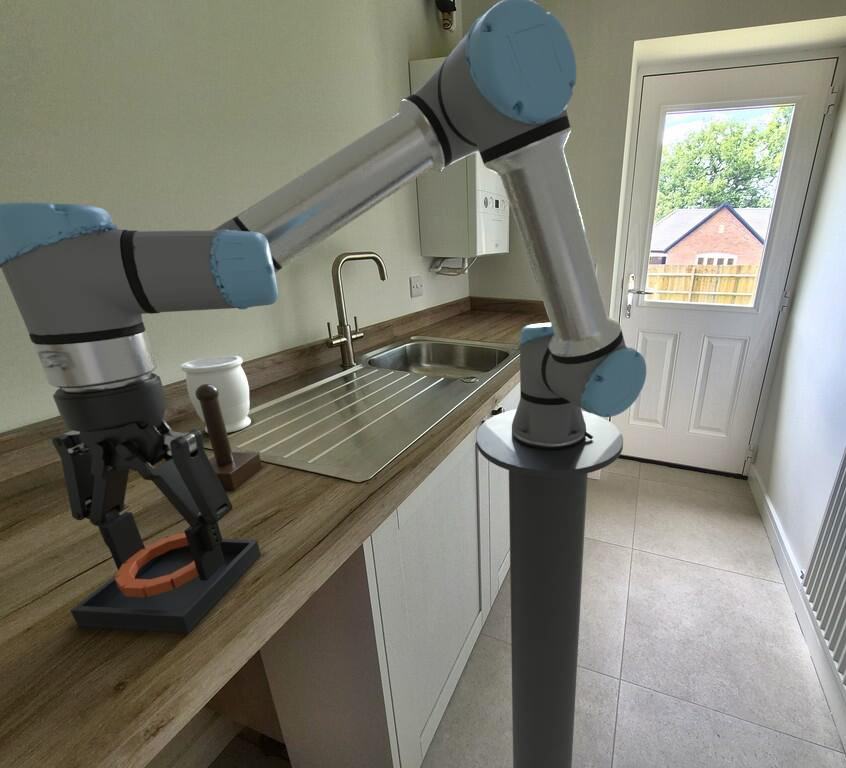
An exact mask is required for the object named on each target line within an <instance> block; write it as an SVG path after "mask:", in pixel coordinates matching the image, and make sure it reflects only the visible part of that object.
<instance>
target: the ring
mask: <svg viewBox="0 0 846 768" xmlns="http://www.w3.org/2000/svg"><path fill="white" fill-rule="evenodd" d="M167 537H168V539H167V538H165V537H164V538H161V539H160V540H157V541H155V542H153V543H151V544H148V545H146V546H144V549H141V550H140V551H139V552H137V553H136V554H135V555H133V556H132V557H131V558H129V559H128V560H127V561H125V563H124V564H122V565H121V567H120V569H119V571H118V570H117V572H116V573H115V575H114V576H115V581H116V583H117V586H118V588H119V589H120V591H121V592H122V593H123V595H124V596H125V595H126V597H146V596H148V597H150V596H153V595H157V594H160V593H164V592H167V591H171V590H173V588H174V587H175V588H178V587H180V586H181V585H183V584H185V583H187V582H189V581H190V580H192V579H194V578H196V577H198V576H199V575H198V571H197V568H196V565H195V562H194V561H193V562H192V563H190V564H189V565H187V566H185V567H183V568H181V569H179V570H177V571H176V572H174V573H172V574H169V575H165V576H161V577H158V578H154V579H151V580H148V579H135V576H136V574H137V572H138V570H139V569H140V568H141V567H143V566H144V565H145V564H146V563H148V562H149V561H150V560H151V559H153V558H155V557H157V556H159V555H161V554H163V553H165V552H167V551H169V550H172V549H176V548H180V547H184V546H188V545H189V544H188V541H187V538H186V535H185V532H180V533H176V534H173V535H169V536H167Z"/></svg>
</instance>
